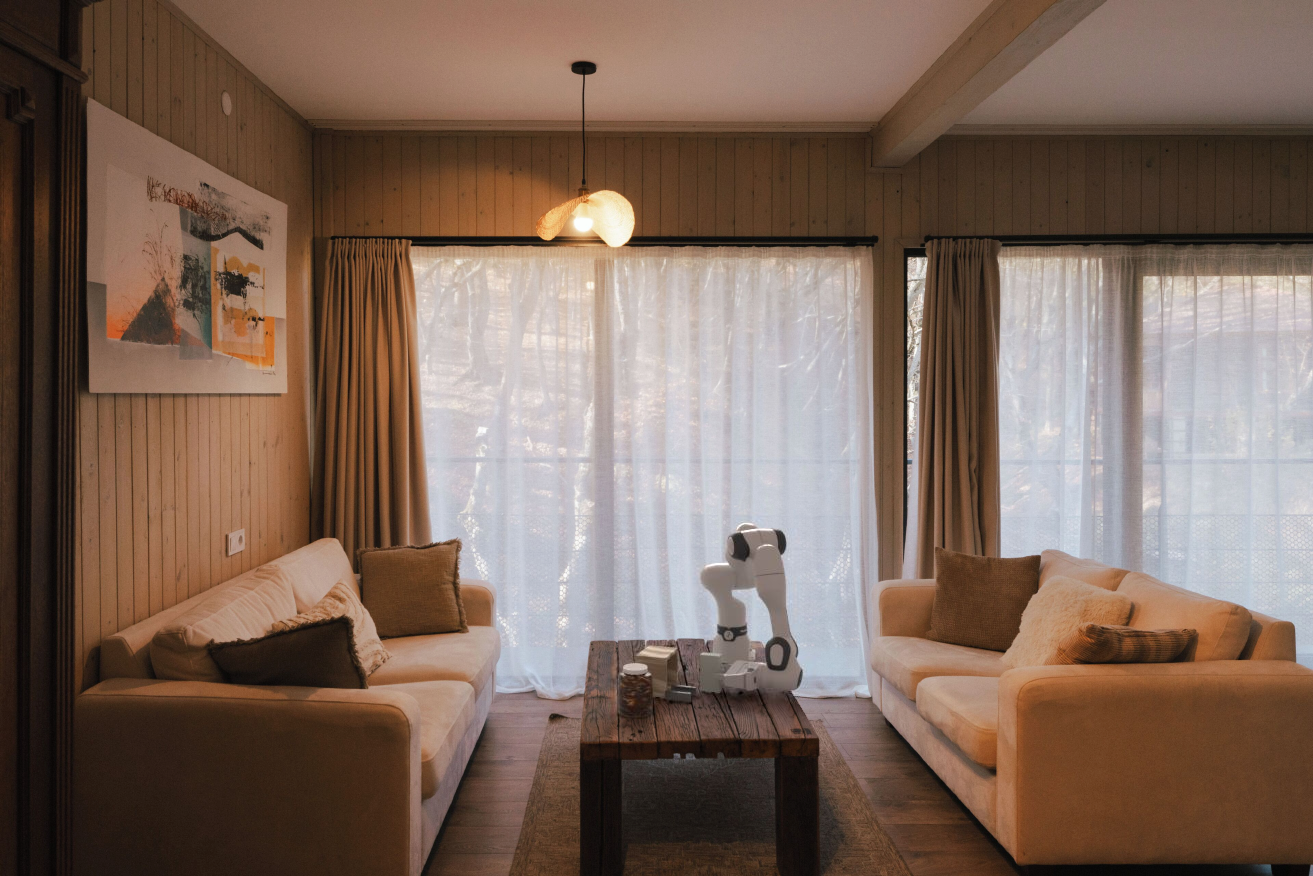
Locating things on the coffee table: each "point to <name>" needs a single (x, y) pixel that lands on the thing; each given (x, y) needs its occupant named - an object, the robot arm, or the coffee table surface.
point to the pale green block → (710, 672)
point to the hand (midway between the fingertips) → (716, 671)
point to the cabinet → (660, 667)
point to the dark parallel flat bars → (680, 693)
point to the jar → (635, 691)
